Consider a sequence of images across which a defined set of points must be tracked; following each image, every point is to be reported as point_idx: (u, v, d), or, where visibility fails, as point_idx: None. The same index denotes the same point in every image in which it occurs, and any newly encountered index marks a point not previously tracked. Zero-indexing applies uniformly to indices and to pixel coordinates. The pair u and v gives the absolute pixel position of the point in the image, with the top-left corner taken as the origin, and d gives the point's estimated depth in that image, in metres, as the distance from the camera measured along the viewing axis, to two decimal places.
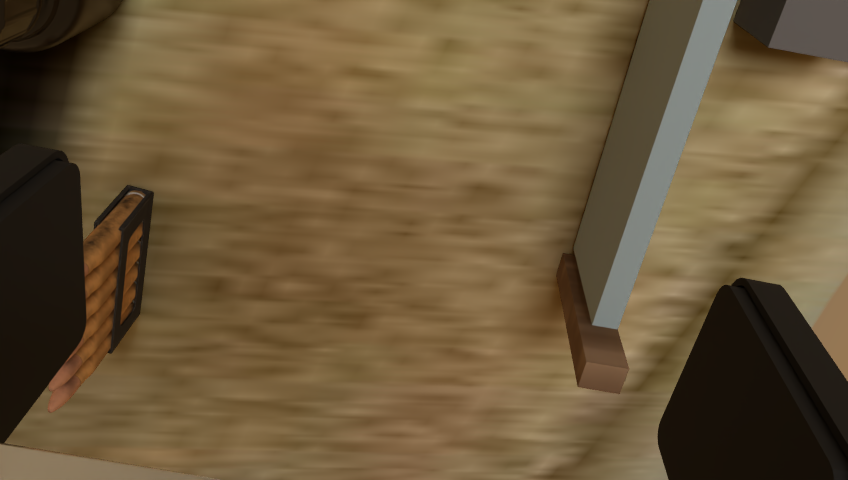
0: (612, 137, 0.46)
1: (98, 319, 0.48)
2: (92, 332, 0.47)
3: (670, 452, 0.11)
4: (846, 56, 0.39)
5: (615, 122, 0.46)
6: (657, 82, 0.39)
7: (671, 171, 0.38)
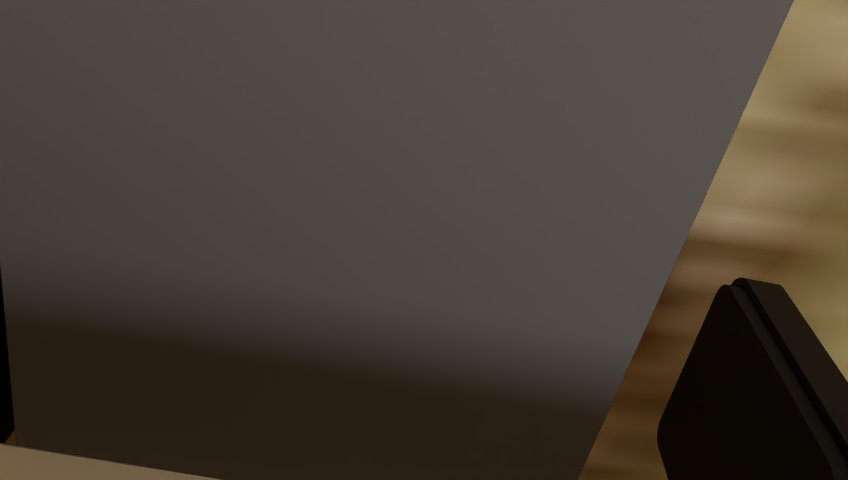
0: None
1: None
2: None
3: (670, 452, 0.11)
4: None
5: None
6: None
7: None
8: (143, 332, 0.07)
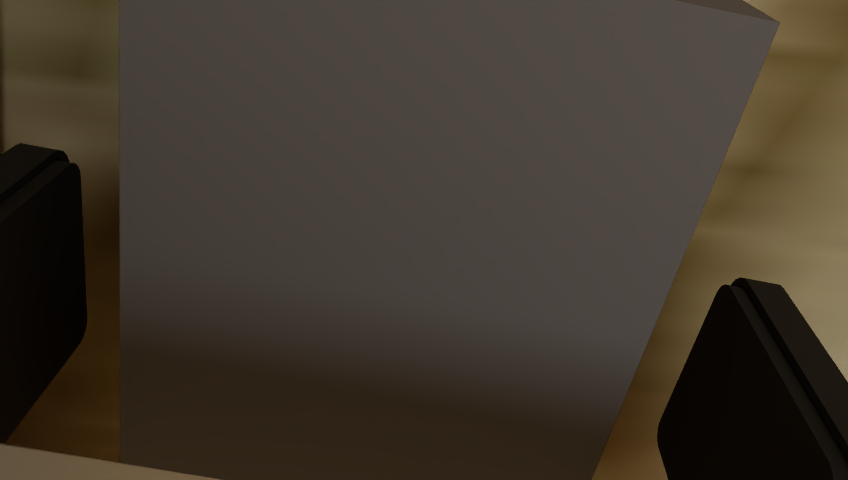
0: None
1: None
2: None
3: (670, 452, 0.11)
4: None
5: None
6: None
7: None
8: (233, 311, 0.09)
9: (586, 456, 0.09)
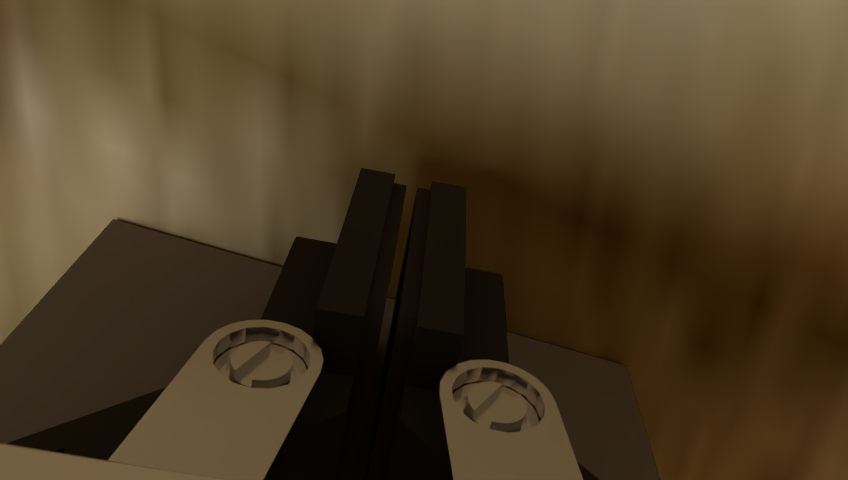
0: None
1: None
2: None
3: (386, 349, 0.12)
4: None
5: None
6: None
7: None
8: None
9: None
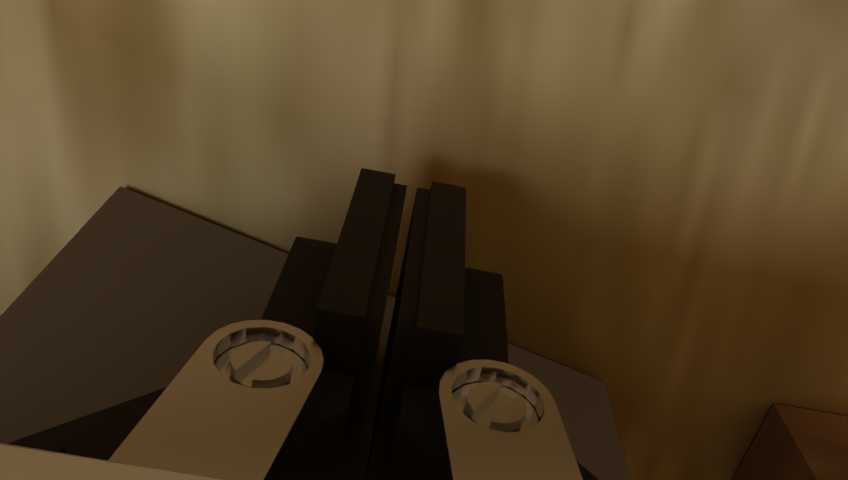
0: None
1: None
2: None
3: (386, 349, 0.12)
4: None
5: None
6: None
7: None
8: None
9: None
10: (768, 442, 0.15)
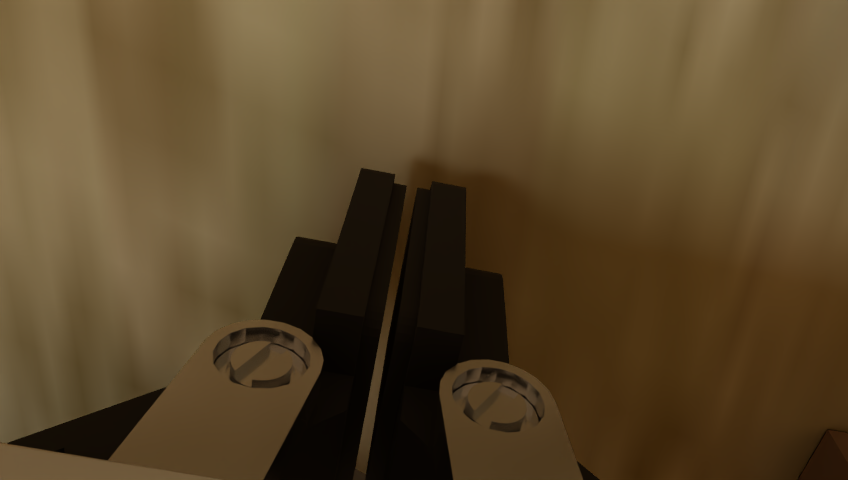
0: None
1: None
2: None
3: (386, 349, 0.12)
4: None
5: None
6: None
7: None
8: None
9: None
10: (822, 470, 0.15)
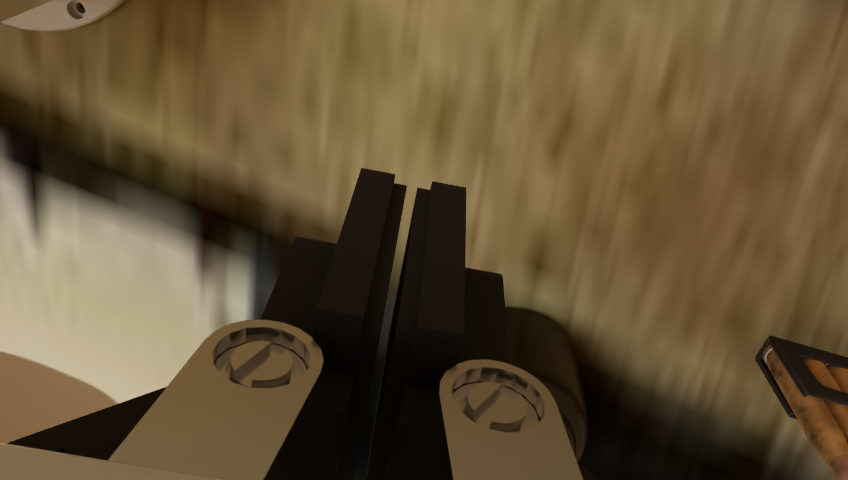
0: None
1: None
2: None
3: (386, 349, 0.12)
4: None
5: None
6: None
7: None
8: None
9: None
10: None
